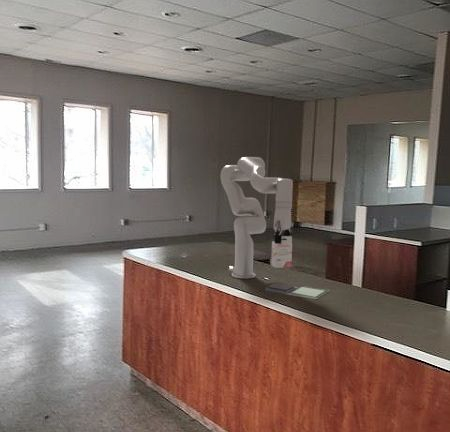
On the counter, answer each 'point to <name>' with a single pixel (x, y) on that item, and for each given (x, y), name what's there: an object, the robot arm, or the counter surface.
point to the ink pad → (280, 288)
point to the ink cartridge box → (282, 253)
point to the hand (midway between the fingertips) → (282, 242)
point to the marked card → (308, 292)
